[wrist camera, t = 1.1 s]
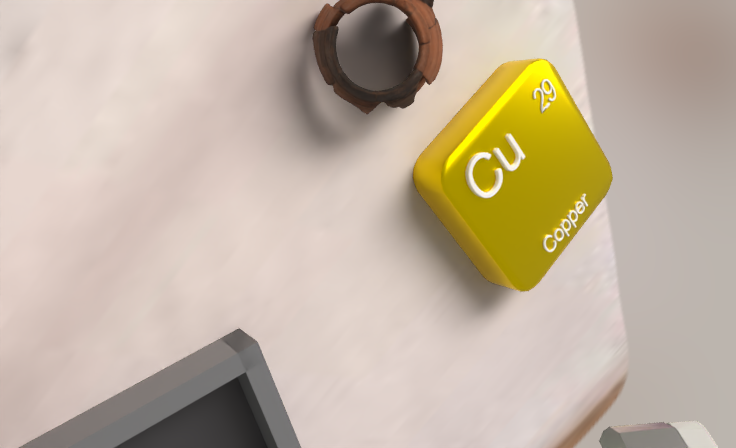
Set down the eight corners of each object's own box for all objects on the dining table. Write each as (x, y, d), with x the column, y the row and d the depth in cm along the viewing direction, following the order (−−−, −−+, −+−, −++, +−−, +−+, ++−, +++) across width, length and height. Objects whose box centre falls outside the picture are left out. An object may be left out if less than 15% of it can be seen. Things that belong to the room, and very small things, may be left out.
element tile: (492, 291, 61) (530, 303, 57) (400, 172, 54) (436, 177, 50) (583, 175, 65) (624, 179, 61) (509, 51, 58) (550, 46, 54)
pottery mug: (406, 128, 54) (413, 137, 46) (297, 79, 53) (285, 78, 45) (472, -16, 52) (492, -33, 44) (359, -70, 51) (359, -98, 43)
